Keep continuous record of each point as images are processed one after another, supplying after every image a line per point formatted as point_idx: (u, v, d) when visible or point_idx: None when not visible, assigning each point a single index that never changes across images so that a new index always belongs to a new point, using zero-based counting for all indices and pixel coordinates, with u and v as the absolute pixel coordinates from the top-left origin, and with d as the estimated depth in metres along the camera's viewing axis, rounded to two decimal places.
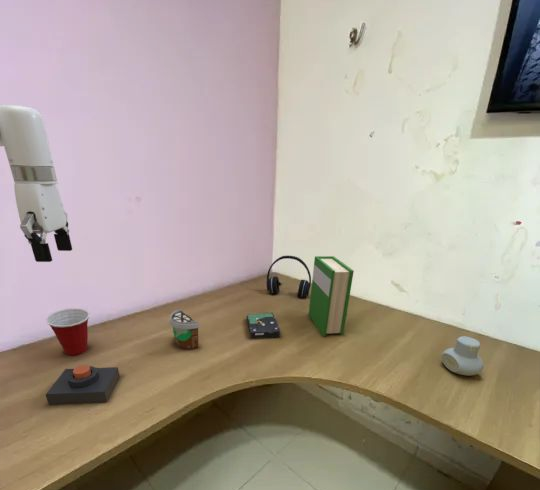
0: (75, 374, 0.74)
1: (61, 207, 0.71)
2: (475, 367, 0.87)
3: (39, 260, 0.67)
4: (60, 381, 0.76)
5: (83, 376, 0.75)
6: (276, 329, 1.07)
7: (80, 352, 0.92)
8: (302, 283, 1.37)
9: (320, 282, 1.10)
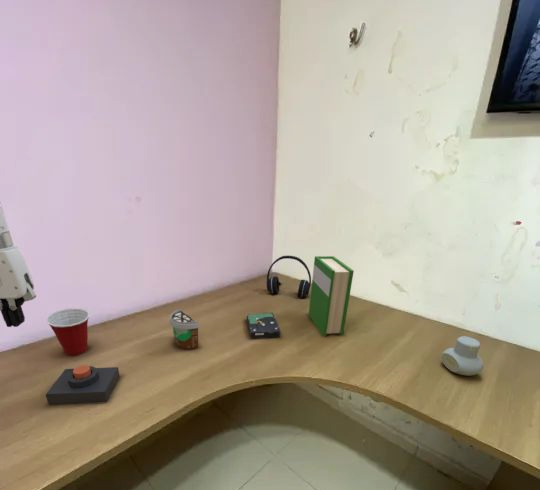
0: (75, 374, 0.74)
1: None
2: (475, 367, 0.87)
3: (18, 324, 0.68)
4: (60, 381, 0.76)
5: (83, 376, 0.75)
6: (276, 329, 1.07)
7: (80, 352, 0.92)
8: (302, 283, 1.37)
9: (320, 282, 1.10)
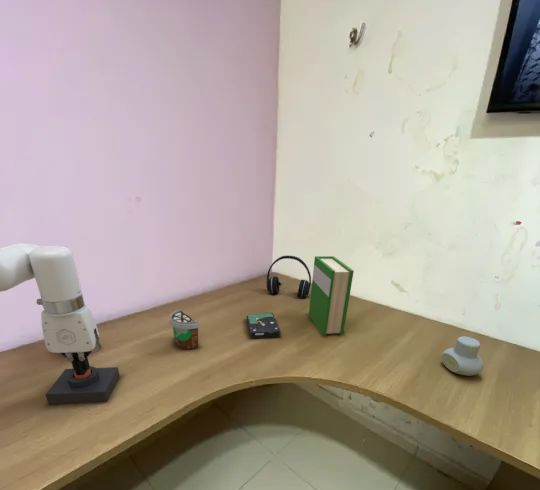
0: (76, 376, 0.75)
1: None
2: (475, 367, 0.87)
3: (84, 372, 0.75)
4: (60, 381, 0.76)
5: None
6: (276, 329, 1.07)
7: None
8: (302, 283, 1.37)
9: (320, 282, 1.10)
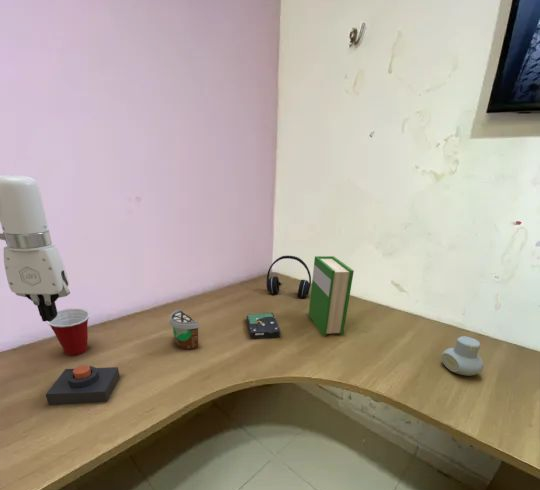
0: (75, 374, 0.74)
1: None
2: (475, 367, 0.87)
3: (51, 319, 0.71)
4: (60, 381, 0.76)
5: (83, 376, 0.75)
6: (276, 329, 1.07)
7: (80, 352, 0.92)
8: (302, 283, 1.37)
9: (320, 282, 1.10)
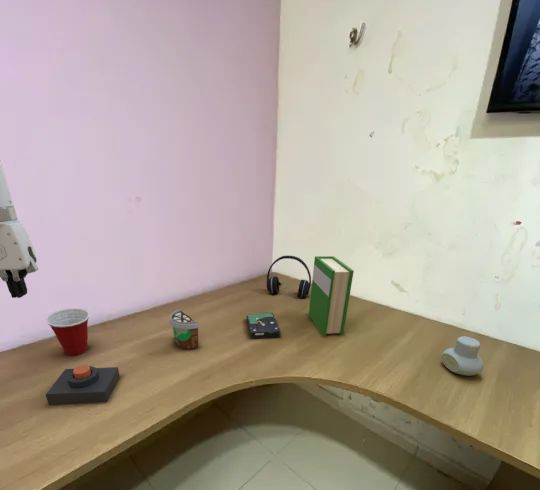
0: (75, 374, 0.74)
1: None
2: (475, 367, 0.87)
3: (21, 295, 0.73)
4: (60, 381, 0.76)
5: (83, 376, 0.75)
6: (276, 329, 1.07)
7: (80, 352, 0.92)
8: (302, 283, 1.37)
9: (320, 282, 1.10)
